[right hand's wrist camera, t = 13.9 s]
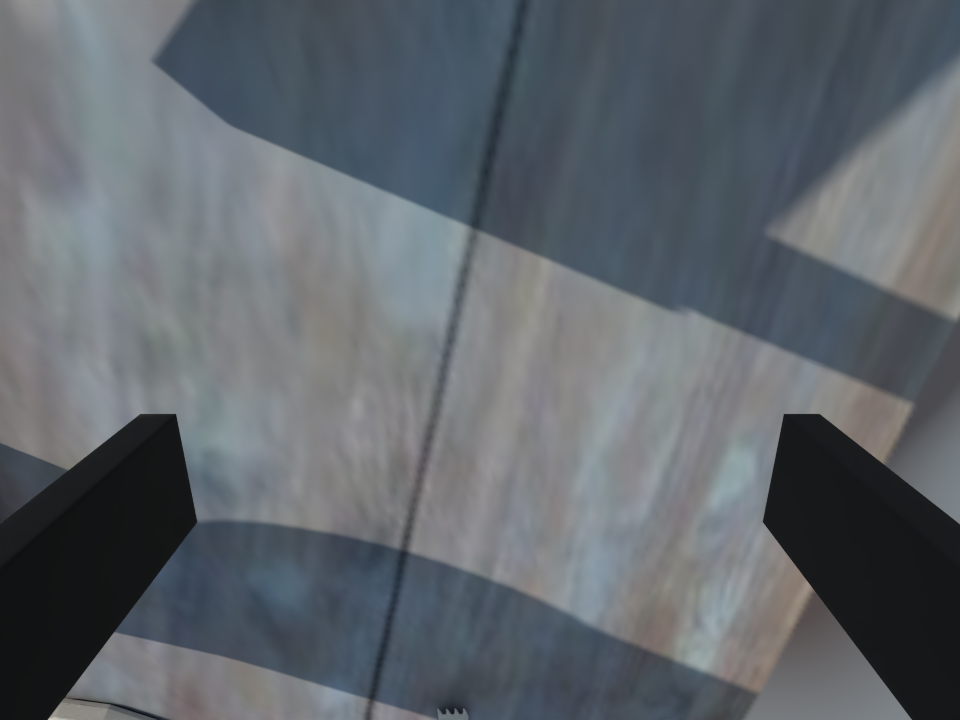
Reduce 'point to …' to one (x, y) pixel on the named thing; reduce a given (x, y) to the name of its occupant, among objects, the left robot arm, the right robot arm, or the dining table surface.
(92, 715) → the wall clock
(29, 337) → the dining table surface
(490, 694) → the dining table surface
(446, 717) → the fork
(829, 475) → the right robot arm
